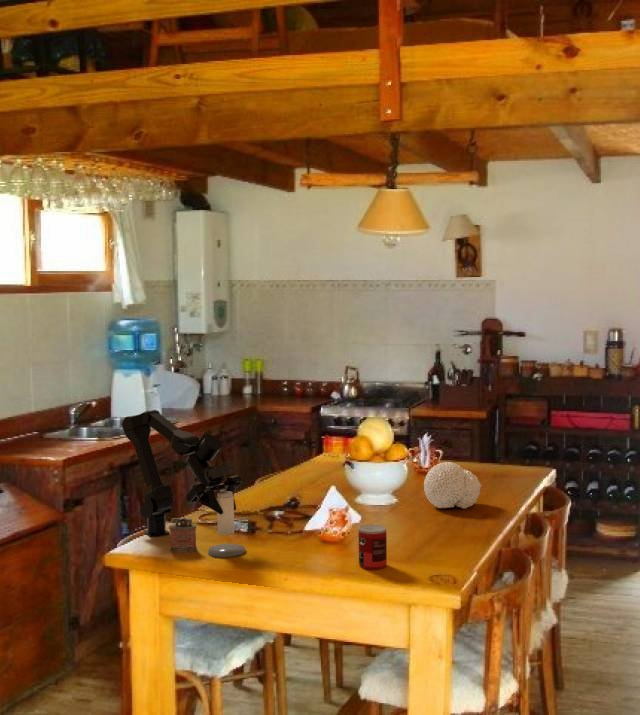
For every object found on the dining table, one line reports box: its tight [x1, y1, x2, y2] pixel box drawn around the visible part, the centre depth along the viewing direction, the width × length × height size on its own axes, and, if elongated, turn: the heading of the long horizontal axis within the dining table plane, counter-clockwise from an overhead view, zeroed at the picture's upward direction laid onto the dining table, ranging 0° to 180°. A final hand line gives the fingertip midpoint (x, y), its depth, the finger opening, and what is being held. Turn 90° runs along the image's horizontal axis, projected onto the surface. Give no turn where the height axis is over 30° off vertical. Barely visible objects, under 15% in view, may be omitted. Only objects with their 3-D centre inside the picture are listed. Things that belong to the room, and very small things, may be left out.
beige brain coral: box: [423, 461, 482, 509], centre depth 340 cm, size 20×18×16 cm
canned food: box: [357, 524, 388, 571], centre depth 276 cm, size 8×8×11 cm
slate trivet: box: [207, 543, 246, 559], centre depth 292 cm, size 11×11×1 cm
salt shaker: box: [216, 491, 235, 536], centre depth 290 cm, size 5×5×12 cm
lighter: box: [168, 516, 198, 553], centre depth 294 cm, size 8×3×10 cm, turn 92°
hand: (228, 511), depth 290 cm, fingers closed on salt shaker, 5 cm apart
